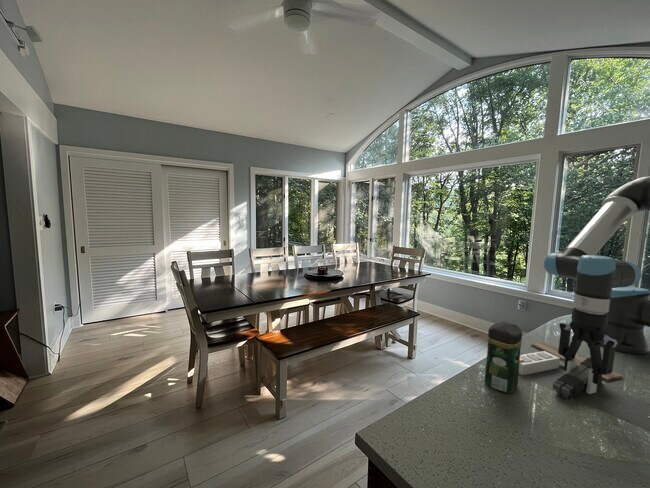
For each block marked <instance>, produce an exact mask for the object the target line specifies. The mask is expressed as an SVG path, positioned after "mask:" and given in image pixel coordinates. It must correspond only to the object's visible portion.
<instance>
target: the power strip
mask: <svg viewBox="0 0 650 488" xmlns="http://www.w3.org/2000/svg"><path fill="white" fill-rule="evenodd" d="M560 360H561V359H560V358H559V357H557V356H554V355H552V354H550V353H548V352H546V351H541V350H540V351H535V352H531V353H525V354H520V361H519V374H518V375H521V376H524V375H531V374H534V373H541V372H544V371H545V372H546V371H549V370H556V369H559V368H561V369H563V370H565V371H567V370H566V369H565V368H564V365H562V364H561V363H560Z"/></svg>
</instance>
